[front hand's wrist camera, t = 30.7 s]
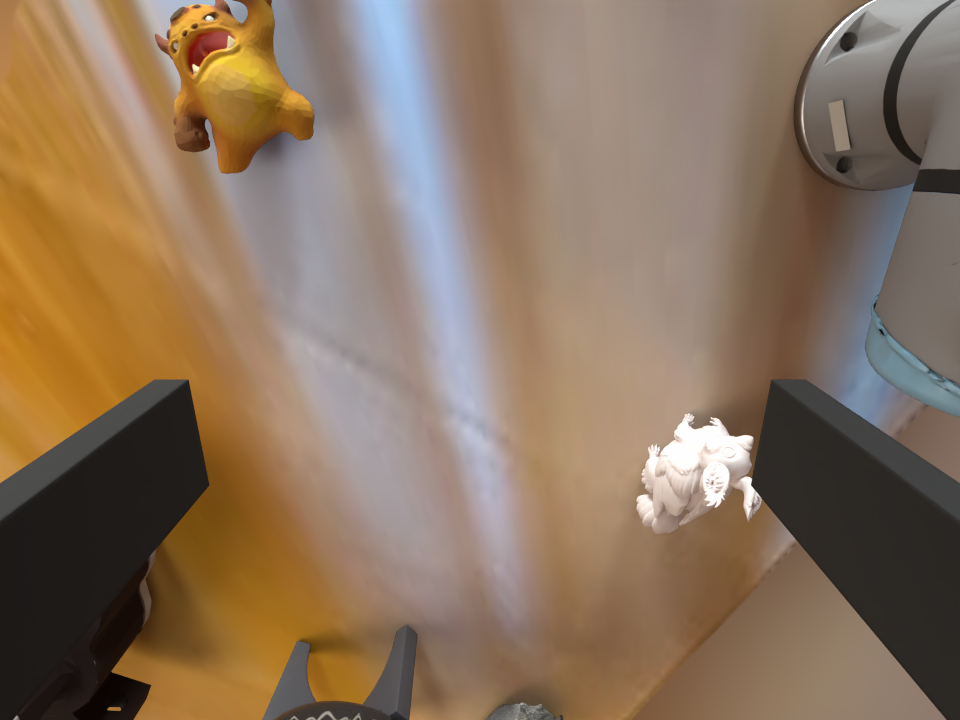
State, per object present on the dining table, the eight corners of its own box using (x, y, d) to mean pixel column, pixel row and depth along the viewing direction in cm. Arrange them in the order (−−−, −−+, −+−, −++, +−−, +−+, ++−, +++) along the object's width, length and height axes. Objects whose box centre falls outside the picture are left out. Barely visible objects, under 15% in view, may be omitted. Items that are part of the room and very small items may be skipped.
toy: (178, 181, 46) (111, -31, 40) (234, 173, 51) (182, -14, 46) (285, 165, 42) (226, -73, 36) (333, 159, 47) (288, -48, 42)
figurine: (743, 409, 57) (813, 475, 45) (679, 523, 62) (726, 609, 50) (673, 385, 56) (725, 446, 44) (613, 503, 61) (645, 586, 49)
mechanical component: (-225, 807, 46) (-211, 545, 37) (-14, 614, 66) (29, 411, 57) (36, 875, 50) (109, 649, 40) (163, 671, 69) (231, 488, 60)
